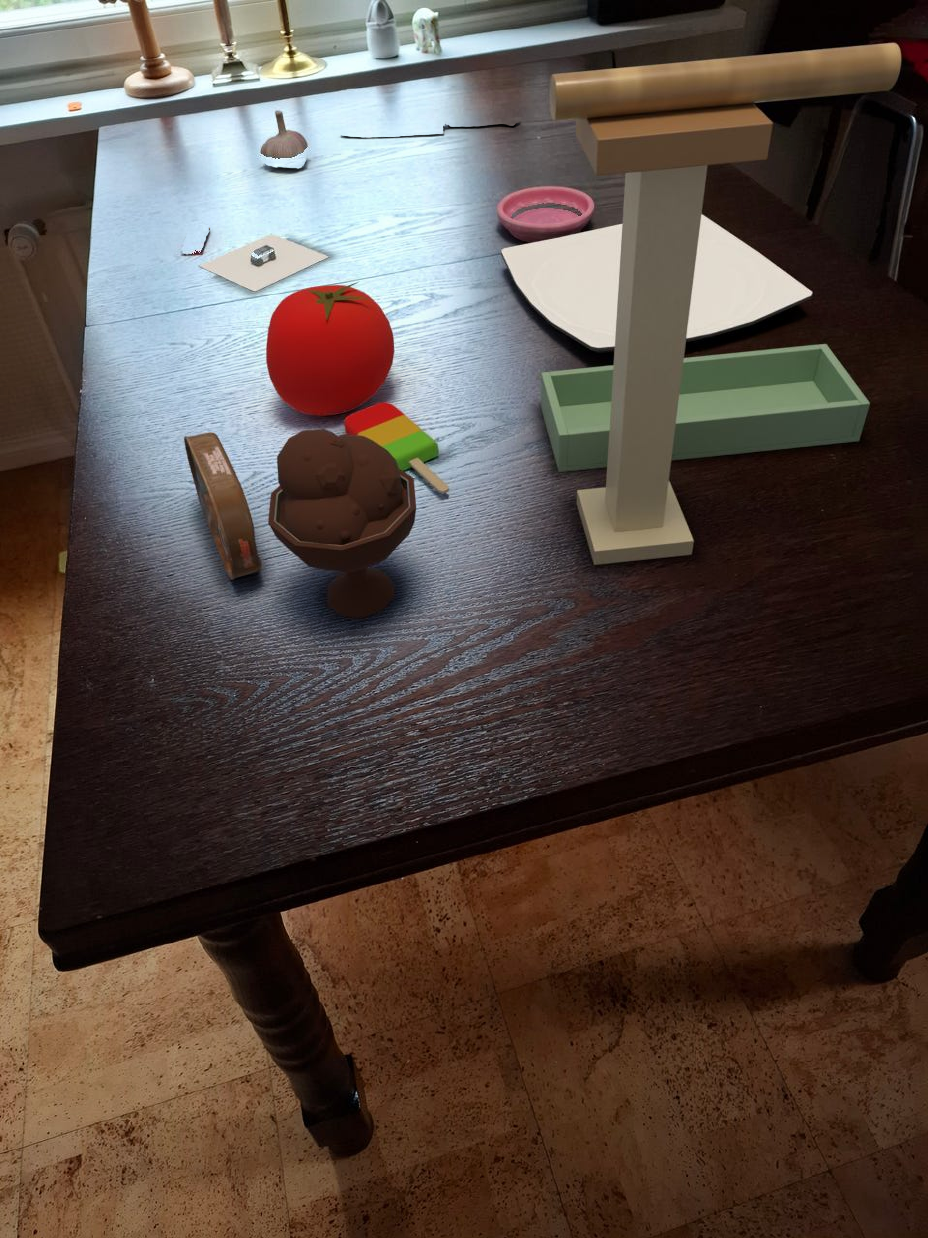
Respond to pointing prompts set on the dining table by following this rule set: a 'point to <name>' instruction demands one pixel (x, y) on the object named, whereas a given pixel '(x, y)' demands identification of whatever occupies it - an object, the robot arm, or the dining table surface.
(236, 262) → the beige placemat
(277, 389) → the tomato
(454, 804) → the dining table surface
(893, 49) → the wooden rod
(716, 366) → the tray
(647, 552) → the stand
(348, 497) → the ice cream bowl
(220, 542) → the tin
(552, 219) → the saucer
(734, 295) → the plate
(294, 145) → the garlic bulb
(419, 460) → the popsicle
